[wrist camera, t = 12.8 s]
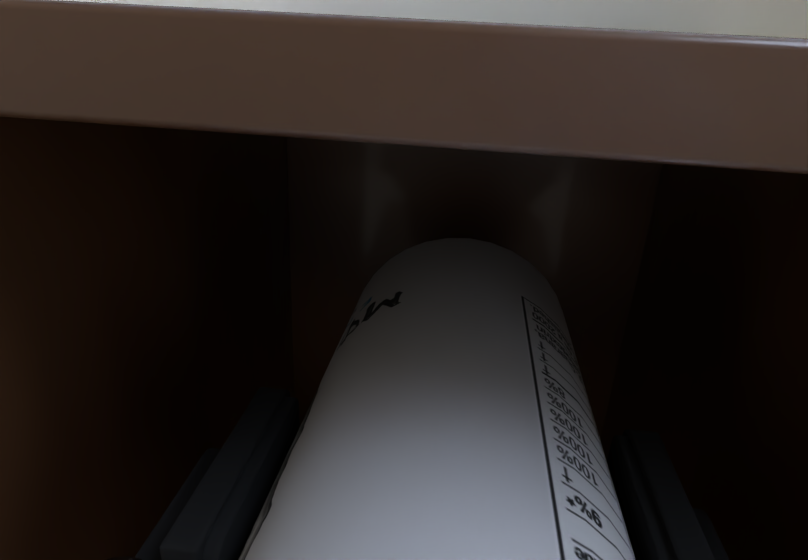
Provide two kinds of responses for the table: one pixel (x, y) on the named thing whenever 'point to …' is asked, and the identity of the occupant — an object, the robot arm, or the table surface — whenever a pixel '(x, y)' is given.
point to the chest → (385, 238)
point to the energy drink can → (447, 426)
